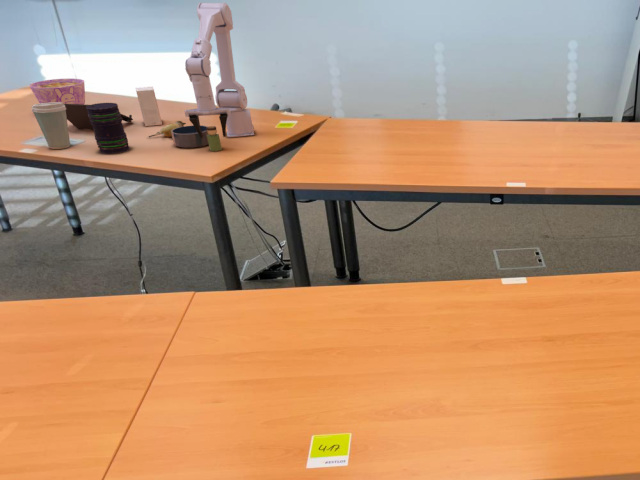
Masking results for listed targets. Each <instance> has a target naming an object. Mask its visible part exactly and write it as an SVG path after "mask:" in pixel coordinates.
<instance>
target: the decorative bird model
mask: <svg viewBox="0 0 640 480" xmlns="http://www.w3.org/2000/svg"><path fill="white" fill-rule="evenodd" d="M186 124H187V123H186V122H183V121H181V120H177V121H175V122H174V123H168V124H167V125H165V126H163V127H161V128H160V130H159V131H157V132H155V133H154V134H152V135H148V138H152V137H157V136H160V135H161V136H163V137H168V138H170V137H171V139H172V140H173V138H172V134H171V130H173V129H175V128H178V127H183V126H185V125H186Z"/></svg>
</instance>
